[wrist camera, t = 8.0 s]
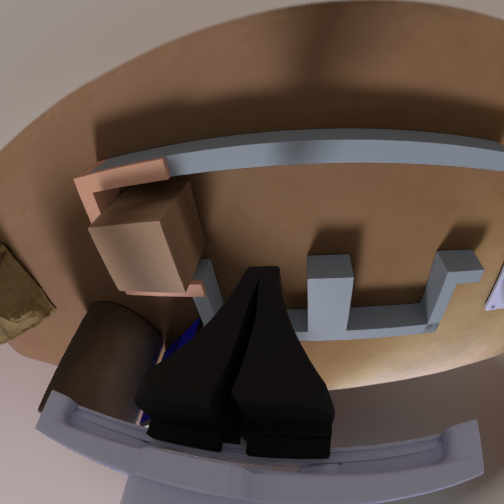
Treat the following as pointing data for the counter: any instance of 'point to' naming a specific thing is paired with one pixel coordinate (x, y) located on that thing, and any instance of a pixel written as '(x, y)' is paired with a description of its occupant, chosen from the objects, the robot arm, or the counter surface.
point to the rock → (19, 299)
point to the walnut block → (151, 238)
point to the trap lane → (318, 266)
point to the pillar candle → (107, 361)
